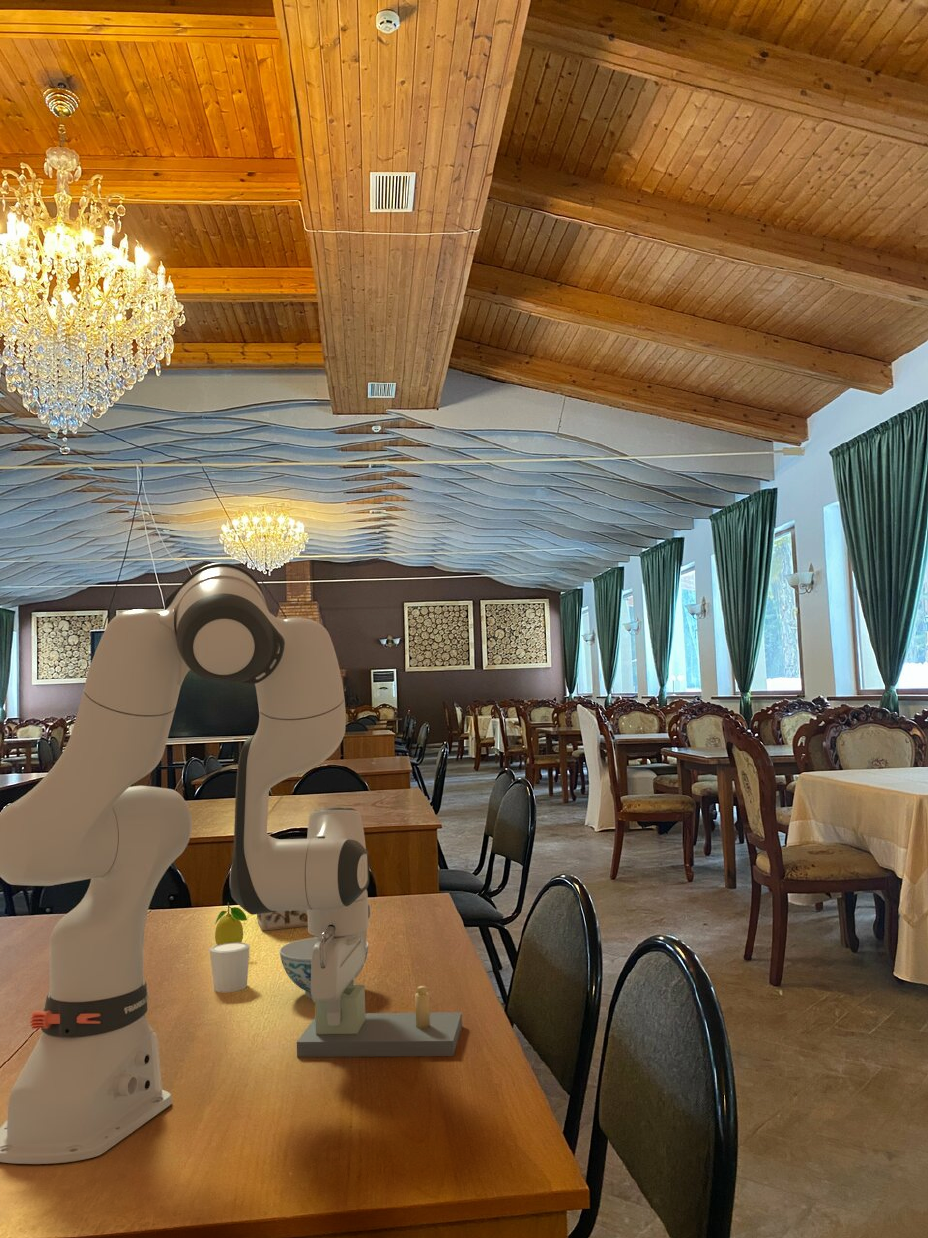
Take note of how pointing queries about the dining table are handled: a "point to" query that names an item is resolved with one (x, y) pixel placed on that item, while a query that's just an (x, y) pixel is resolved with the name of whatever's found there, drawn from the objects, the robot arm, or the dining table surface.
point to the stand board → (390, 1034)
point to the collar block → (344, 1013)
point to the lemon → (230, 926)
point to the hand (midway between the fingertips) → (340, 1015)
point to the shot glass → (230, 966)
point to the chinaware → (302, 962)
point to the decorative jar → (283, 919)
